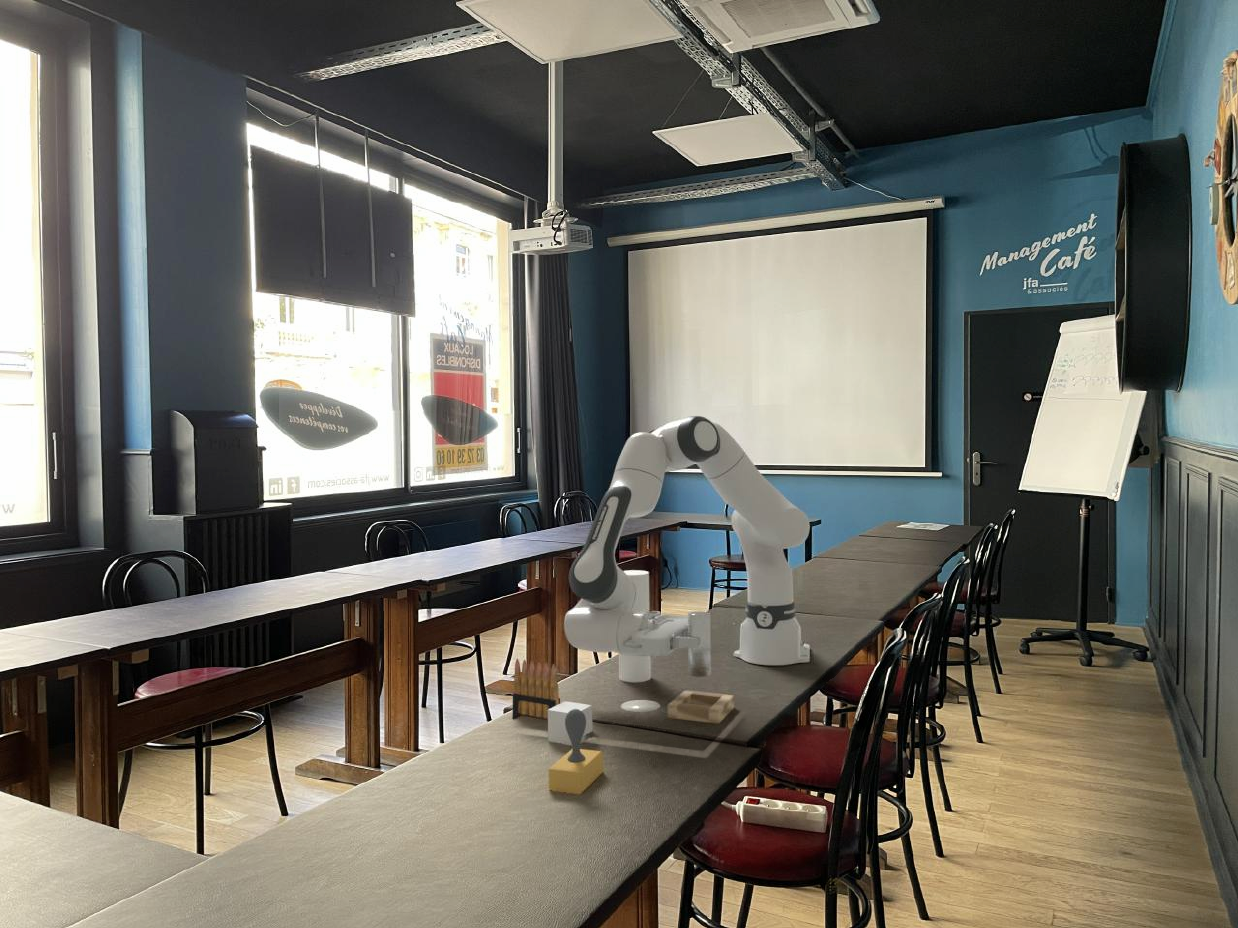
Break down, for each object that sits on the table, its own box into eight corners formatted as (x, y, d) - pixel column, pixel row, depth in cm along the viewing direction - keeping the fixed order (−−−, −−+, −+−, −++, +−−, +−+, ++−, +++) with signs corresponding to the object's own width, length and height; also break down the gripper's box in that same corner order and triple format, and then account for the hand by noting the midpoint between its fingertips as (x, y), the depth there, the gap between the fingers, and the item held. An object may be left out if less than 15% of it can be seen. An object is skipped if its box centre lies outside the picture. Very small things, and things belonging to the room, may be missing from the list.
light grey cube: (575, 746, 166) (575, 714, 165) (548, 741, 169) (547, 709, 168) (592, 736, 171) (592, 704, 171) (565, 731, 174) (565, 700, 174)
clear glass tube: (692, 669, 183) (692, 610, 183) (713, 672, 181) (713, 612, 181) (685, 675, 179) (684, 614, 179) (706, 677, 177) (706, 616, 177)
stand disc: (630, 702, 191) (630, 698, 191) (665, 706, 188) (665, 702, 188) (614, 714, 184) (614, 709, 184) (651, 718, 180) (651, 713, 180)
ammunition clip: (561, 723, 179) (560, 663, 178) (556, 726, 177) (554, 665, 176) (517, 715, 184) (516, 657, 183) (512, 718, 182) (510, 659, 182)
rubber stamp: (581, 795, 144) (579, 720, 143) (548, 790, 146) (546, 716, 145) (604, 772, 153) (602, 701, 152) (572, 768, 155) (570, 699, 154)
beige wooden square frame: (685, 707, 187) (684, 690, 187) (734, 712, 183) (733, 695, 183) (667, 722, 178) (667, 704, 178) (718, 728, 174) (718, 710, 174)
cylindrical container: (647, 687, 202) (645, 575, 201) (616, 685, 204) (614, 574, 203) (653, 678, 209) (651, 570, 208) (622, 677, 211) (620, 570, 210)
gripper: (618, 628, 175) (686, 634, 170) (656, 609, 194) (718, 613, 189) (618, 661, 176) (686, 667, 170) (656, 638, 194) (718, 643, 189)
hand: (703, 639), depth 180 cm, fingers closed on clear glass tube, 4 cm apart
